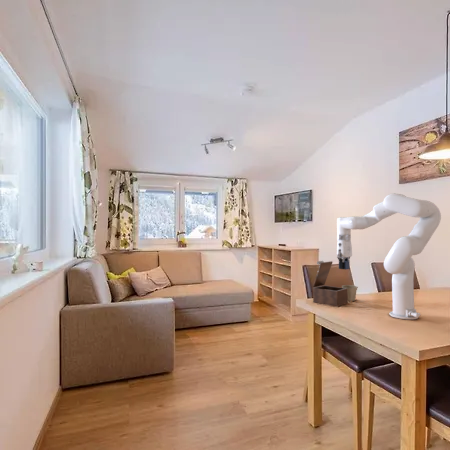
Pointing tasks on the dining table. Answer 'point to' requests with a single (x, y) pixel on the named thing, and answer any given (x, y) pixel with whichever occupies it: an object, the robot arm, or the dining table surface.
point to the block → (347, 265)
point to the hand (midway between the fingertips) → (344, 268)
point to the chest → (330, 295)
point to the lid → (322, 273)
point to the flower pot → (351, 292)
